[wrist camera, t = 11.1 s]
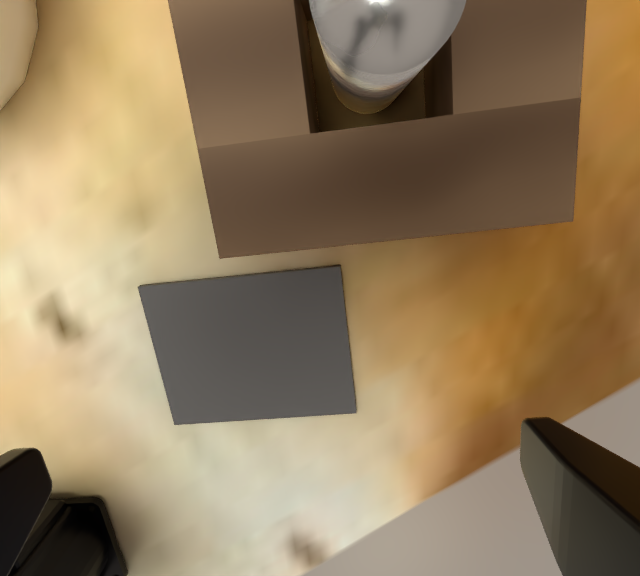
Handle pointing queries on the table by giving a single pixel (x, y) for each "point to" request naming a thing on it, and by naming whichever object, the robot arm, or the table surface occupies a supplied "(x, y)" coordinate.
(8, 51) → the vase
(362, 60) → the pin
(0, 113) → the table surface
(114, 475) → the table surface
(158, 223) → the table surface
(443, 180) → the hole block
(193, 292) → the rubber mat
